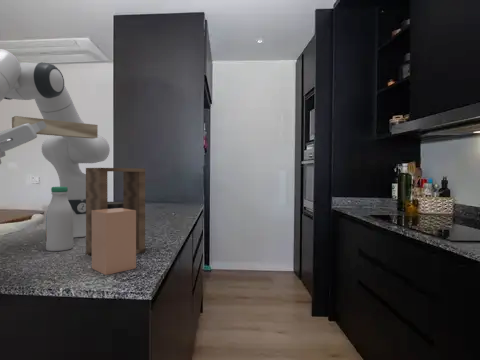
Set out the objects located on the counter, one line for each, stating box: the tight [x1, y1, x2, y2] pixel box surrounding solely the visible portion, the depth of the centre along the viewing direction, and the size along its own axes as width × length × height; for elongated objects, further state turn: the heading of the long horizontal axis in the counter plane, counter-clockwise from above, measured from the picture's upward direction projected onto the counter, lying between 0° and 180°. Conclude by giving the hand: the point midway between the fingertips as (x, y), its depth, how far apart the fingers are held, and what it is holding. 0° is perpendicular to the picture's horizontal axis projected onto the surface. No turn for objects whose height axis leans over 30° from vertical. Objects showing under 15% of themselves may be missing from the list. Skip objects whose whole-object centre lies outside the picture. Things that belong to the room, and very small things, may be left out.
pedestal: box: [91, 208, 137, 276], centre depth 86 cm, size 8×8×15 cm
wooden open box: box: [85, 167, 146, 258], centre depth 102 cm, size 10×14×26 cm
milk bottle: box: [45, 186, 74, 252], centre depth 107 cm, size 8×8×20 cm
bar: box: [11, 115, 99, 138], centre depth 86 cm, size 4×19×4 cm, turn 136°
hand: (41, 124), depth 83 cm, fingers closed on bar, 3 cm apart
